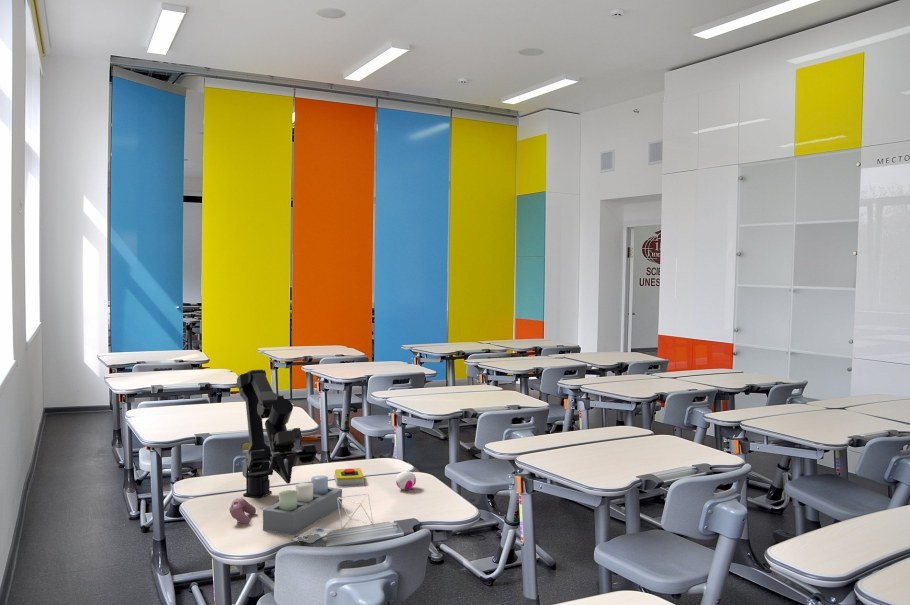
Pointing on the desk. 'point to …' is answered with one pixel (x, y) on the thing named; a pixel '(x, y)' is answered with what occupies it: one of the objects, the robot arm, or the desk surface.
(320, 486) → the slate-blue button
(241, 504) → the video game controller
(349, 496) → the geometric polyhedron
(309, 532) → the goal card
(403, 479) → the stress ball
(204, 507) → the desk surface
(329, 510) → the grey compartment tray
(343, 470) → the emergency button
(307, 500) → the ivory button
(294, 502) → the sage button
